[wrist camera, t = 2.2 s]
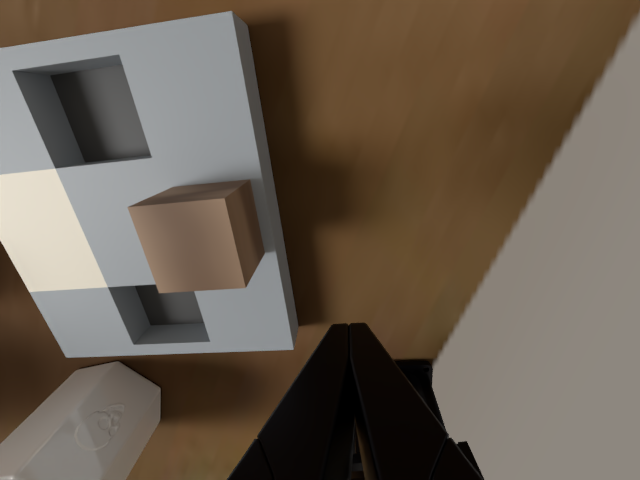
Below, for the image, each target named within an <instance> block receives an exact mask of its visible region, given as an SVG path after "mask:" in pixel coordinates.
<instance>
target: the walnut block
mask: <svg viewBox="0 0 640 480" xmlns="http://www.w3.org/2000/svg"><path fill="white" fill-rule="evenodd" d="M127 208H128V210H129V213H130V216H131V218H132V221H133V224H134V227H135V229H136V232H137V235H138V237H139V240H140V243H141V245H142V248H143V251H144V254H145V256H146V259H147V262H148V264H149V267H150V270H151V272H152V275H153V278H154V281H155V283H156V286H157V289H158V291H159V293H172V292H189V291H206V290H223V289H240V288H246V287H247V285H248V283H249V281H250V280H251V278H252V276H253V274H254V272H255V270H256V269H257V267H258V265H259V263H260V261H261V260H262V258H263V256H264V254H265V251H264V246H263V241H262V236H261V231H260V226H259V221H258V216H257V211H256V206H255V201H254V196H253V191H252V186H251V181H250V179H248V180H238V181H228V182H218V183H207V184H197V185H187V186H177V187H172V188H169V189H167V190H165V191H163V192H160V193H158V194H156V195H154V196H151V197H149V198H147V199H145V200H142V201H140V202H138V203H136V204H133V205H131V206H129V207H127Z"/></svg>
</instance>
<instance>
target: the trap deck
mask: <svg viewBox="0 0 640 480" xmlns="http://www.w3.org/2000/svg"><path fill="white" fill-rule="evenodd" d="M248 179H250V181H251V186H252V191H253V196H254V201H255V206H256V211H257V216H258V221H259V226H260V231H261V236H262V241H263V246H264V251H265V254H264V256H263V258H262V260H261V261H260V263H259V265H258V267H257V269H256V270H255V272H254V274H253V276H252V278H251V280H250V281H249V283H248V285H247V287H246V288H240V289H223V290H206V291H189V292H172V293H159V291H158V289H157V286H156V283H155V281H154V278H153V275H152V272H151V270H150V267H149V264H148V262H147V259H146V256H145V254H144V251H143V248H142V245H141V243H140V240H139V237H138V235H137V232H136V229H135V227H134V224H133V221H132V218H131V216H130V213H129V210H128V208H127V207H129V206H131V205H133V204H136V203H138V202H140V201H142V200H145V199H147V198H149V197H151V196H154V195H156V194H158V193H160V192H163V191H165V190H167V189H169V188H172V187H177V186H187V185H197V184H207V183H218V182H228V181H238V180H248ZM0 241H1V243H2V244H3V246H4V248H5V250H6V252H7V253H8V255H9V257H10V259H11V260H12V262H13V264H14V266H15V267H16V269H17V271H18V273H19V275H20V276H21V278H22V280H23V282H24V283H25V285H26V287H27V289H28V291H29V292H30V294H31V296H32V298H33V299H34V301H35V303H36V305H37V306H38V308H39V310H40V312H41V314H42V315H43V317H44V319H45V321H46V322H47V324H48V326H49V328H50V330H51V331H52V333H53V335H54V337H55V338H56V340H57V342H58V344H59V345H60V347H61V349H62V351H63V353H64V354H65V356H66V358H73V357H101V356H129V355H158V354H186V353H214V352H243V351H271V350H294V346H295V341H296V337H297V332H298V327H299V326H298V321H297V315H296V309H295V303H294V297H293V291H292V285H291V279H290V273H289V267H288V262H287V256H286V250H285V244H284V238H283V232H282V226H281V220H280V214H279V208H278V203H277V197H276V191H275V185H274V179H273V173H272V167H271V161H270V155H269V149H268V144H267V138H266V132H265V126H264V120H263V114H262V108H261V102H260V96H259V90H258V85H257V79H256V73H255V67H254V61H253V55H252V49H251V43H250V37H249V31H248V26H247V24H245V23H244V22H243V21H242V20H241V19H240V18H239V17H238V16H237V15H235V14H234V13H233V12H232V11H229V12H223V13H216V14H210V15H204V16H198V17H192V18H185V19H179V20H173V21H167V22H160V23H154V24H148V25H142V26H136V27H129V28H123V29H117V30H111V31H105V32H98V33H92V34H86V35H80V36H73V37H67V38H61V39H55V40H49V41H42V42H36V43H30V44H24V45H18V46H11V47H5V48H0Z"/></svg>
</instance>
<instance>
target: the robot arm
mask: <svg viewBox="0 0 640 480" xmlns="http://www.w3.org/2000/svg"><path fill="white" fill-rule="evenodd" d="M425 367H427V368H425ZM432 372H433V369H432V366H431V363H430V362H428V361H409V362H394V360H393V359H392V358H391V356H390V355H389V354H388V352H387V351H386V350H385V348H384V347H383V346H382V344H381V343H380V341H379V340H378V339H377V337H376V336H375V335H374V333H373V332H372V331H371V329H370V328H369V327H368V325H367V324H366V323H351V324H350V325H348V324H346V323H343V324H333V325H331V327H330V328H329V330H328V331H327V333H326V334H325V336H324V337H323V339H322V340H321V342H320V343H319V345H318V346H317V348H316V349H315V350H314V352H313V353H312V355H311V356H310V358H309V359H308V361H307V362H306V364H305V365H304V367H303V368H302V370H301V371H300V373H299V374H298V376H297V377H296V379H295V380H294V382H293V383H292V385H291V386H290V388H289V389H288V391H287V392H286V394H285V395H284V397H283V398H282V400H281V401H280V403H279V404H278V405H277V407H276V408H275V410H274V411H273V413H272V414H271V416H270V417H269V419H268V420H267V422H266V423H265V425H264V426H263V428H262V429H261V431H260V432H259V434H258V436H257V437H258V439H254V441H253V442H252V444H251V445H250V447H249V448H248V450H247V451H246V453H245V454H244V456H243V457H242V459H241V460H240V461H239V463H238V464H237V466H236V467H235V469H234V470H233V471H232V473H231V474H230V476H229V477H228V478H227V480H484V478H483V476H482V474H481V471H480V469H479V467H478V465H477V463H476V461H475V458H474V456H473V454H472V452H471V450H470V447H469V445H468V443H467V441H465V442H458V444H456V443H455V442H454V441H453V439H452V438H449V434H448V433H447V432H446V429H445V426H444V423H443V420H442V416H441V414H440V410H439V407H438V404H437V401H436V398H435V395H434V392H433V389H432Z"/></svg>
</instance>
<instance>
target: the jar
mask: <svg viewBox="0 0 640 480" xmlns="http://www.w3.org/2000/svg"><path fill="white" fill-rule="evenodd" d="M160 415H161V388H160V387H159V386H157V385H156V384H154V383H152V382H151V381H149V380H148V379H146V378H144V377H143V376H141V375H140V374H138V373H136V372H135V371H133V370H132V369H130V368H129V367H127V366H125V365H124V364H122V363H121V362H119V361H115V362H111V363H106V364H102V365H97V366H92V367H87V368H83V369H78V370H76V371H75V372H74V373H73V374H72V375H71V376H70V377H68V378H67V379H66V380H65V381H64V382H63V383H62V384H61V385H60V386H59V387H58V388H57V389H56V390H55V391H54V392H53V393H52V394H51V395H50V396H49V397H48V398H47V399H46V400H45V401H44V402H43V403H42V404H41V405H40V406H39V407H38V408H37V409H36V410H35V411H34V412H32V413H31V414H30V415H29V416H28V417H27V418H26V419H25V420H24V421H23V422H22V423H21V424H20V425H19V426H18V427H17V428H16V429H15V430H14V431H13V432H12V433H11V434H10V435H9V436H8V437H7V438H6V439H5V440H4V441H3V442H2V443H1V444H0V480H126V478H127V476H128V475H129V473H130V471H131V470H132V468H133V466H134V465H135V463H136V461H137V459H138V458H139V456H140V454H141V453H142V451H143V449H144V448H145V446H146V444H147V442H148V441H149V439H150V437H151V436H152V434H153V432H154V431H155V429H156V427H157V425H158V424H159V422H160Z"/></svg>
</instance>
